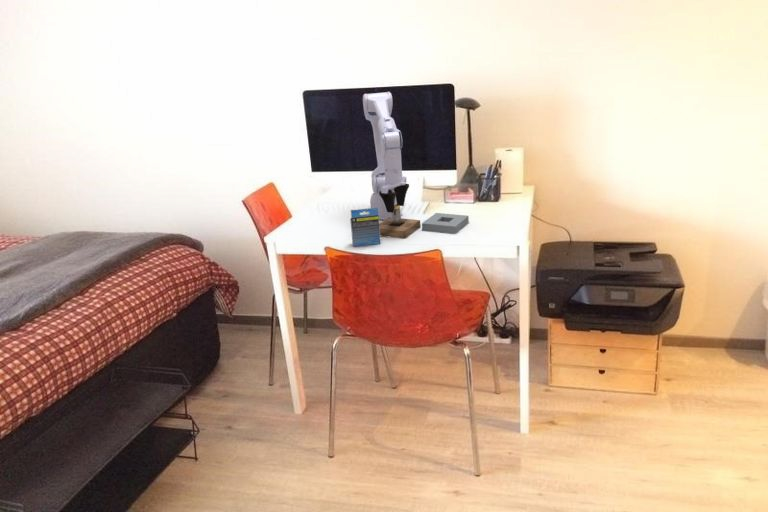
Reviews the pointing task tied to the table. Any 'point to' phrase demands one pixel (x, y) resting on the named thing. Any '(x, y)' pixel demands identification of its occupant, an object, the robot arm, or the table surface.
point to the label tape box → (365, 227)
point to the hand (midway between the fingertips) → (395, 208)
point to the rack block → (445, 223)
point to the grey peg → (396, 216)
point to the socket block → (399, 228)
